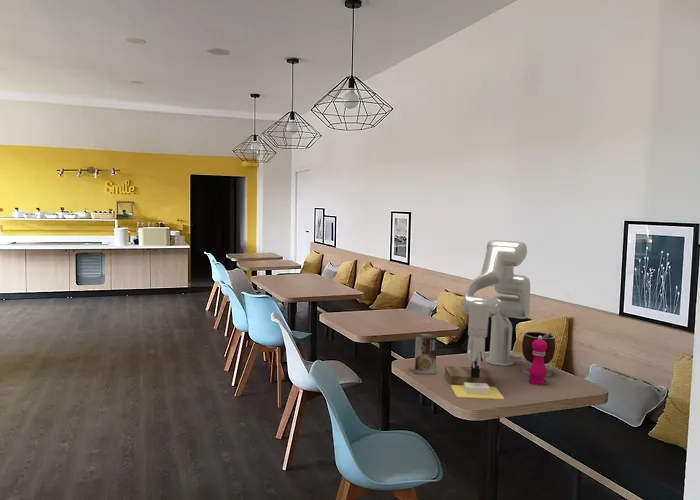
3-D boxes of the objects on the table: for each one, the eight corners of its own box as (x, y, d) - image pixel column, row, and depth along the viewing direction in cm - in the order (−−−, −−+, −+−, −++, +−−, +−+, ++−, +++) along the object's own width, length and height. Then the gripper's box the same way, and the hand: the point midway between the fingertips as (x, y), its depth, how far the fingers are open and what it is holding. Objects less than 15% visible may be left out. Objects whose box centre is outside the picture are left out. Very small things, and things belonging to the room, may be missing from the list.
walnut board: (486, 377, 236) (487, 367, 236) (494, 387, 222) (495, 377, 222) (444, 375, 236) (445, 366, 236) (450, 385, 222) (450, 376, 222)
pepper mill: (529, 378, 236) (532, 333, 234) (547, 381, 233) (550, 335, 231) (526, 383, 230) (530, 336, 228) (545, 386, 226) (548, 338, 225)
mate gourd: (514, 368, 251) (517, 325, 250) (541, 367, 254) (544, 325, 253) (533, 379, 236) (536, 333, 234) (561, 378, 239) (565, 332, 238)
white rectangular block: (490, 388, 212) (489, 394, 212) (486, 383, 218) (486, 389, 218) (466, 387, 212) (466, 393, 212) (463, 382, 218) (463, 388, 218)
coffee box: (434, 370, 243) (436, 334, 242) (435, 374, 237) (437, 337, 235) (413, 368, 244) (415, 332, 243) (414, 373, 237) (416, 336, 236)
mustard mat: (494, 387, 222) (495, 386, 222) (504, 399, 208) (504, 398, 208) (450, 385, 222) (450, 384, 222) (456, 397, 208) (457, 396, 208)
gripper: (464, 327, 225) (461, 371, 226) (472, 335, 210) (469, 382, 211) (482, 327, 225) (480, 372, 226) (492, 336, 210) (489, 383, 211)
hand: (475, 377), depth 219 cm, fingers closed
